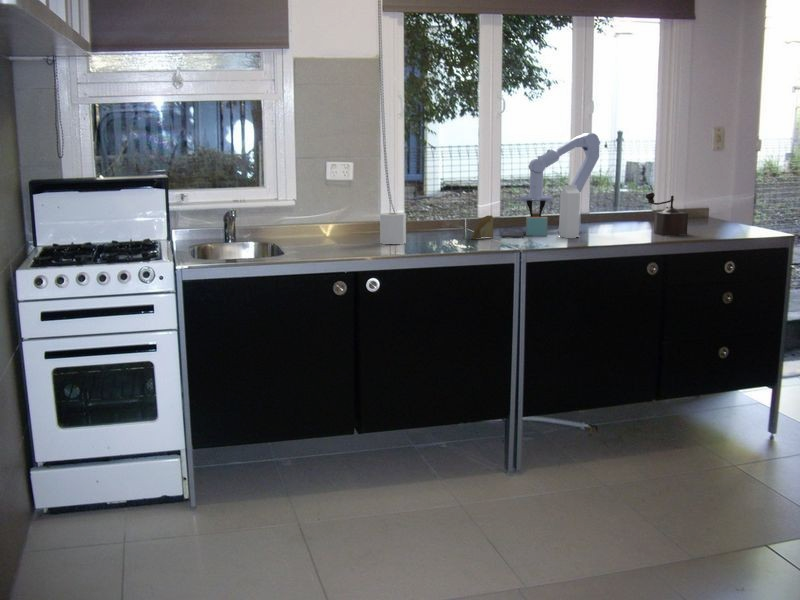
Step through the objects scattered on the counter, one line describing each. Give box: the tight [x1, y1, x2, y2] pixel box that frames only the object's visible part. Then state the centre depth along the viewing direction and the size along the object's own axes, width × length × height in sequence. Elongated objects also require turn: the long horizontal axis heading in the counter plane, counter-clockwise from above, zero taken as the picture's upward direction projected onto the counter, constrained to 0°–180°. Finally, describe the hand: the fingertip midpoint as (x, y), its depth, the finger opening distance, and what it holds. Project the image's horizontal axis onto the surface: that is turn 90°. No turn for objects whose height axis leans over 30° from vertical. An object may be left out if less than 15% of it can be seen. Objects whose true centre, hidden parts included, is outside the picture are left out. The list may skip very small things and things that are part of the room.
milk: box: [558, 184, 581, 239], centre depth 364 cm, size 6×6×22 cm
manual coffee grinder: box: [644, 191, 689, 236], centre depth 372 cm, size 16×11×18 cm
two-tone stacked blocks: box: [532, 210, 540, 217], centre depth 380 cm, size 5×12×5 cm, turn 171°
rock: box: [471, 214, 494, 240], centre depth 365 cm, size 11×9×10 cm
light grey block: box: [379, 212, 407, 245], centre depth 351 cm, size 10×10×12 cm
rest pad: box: [501, 231, 525, 239], centre depth 372 cm, size 9×12×1 cm
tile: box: [525, 216, 548, 237], centre depth 372 cm, size 9×2×8 cm, turn 81°
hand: (535, 217), depth 383 cm, fingers closed on two-tone stacked blocks, 3 cm apart
